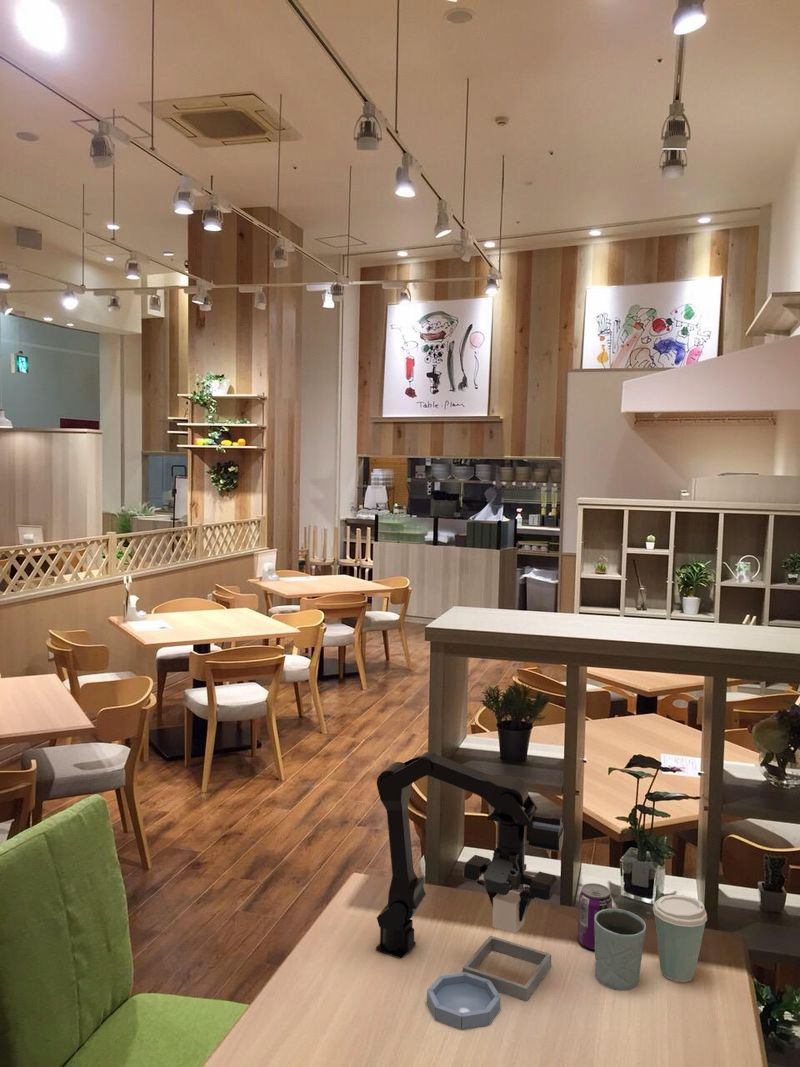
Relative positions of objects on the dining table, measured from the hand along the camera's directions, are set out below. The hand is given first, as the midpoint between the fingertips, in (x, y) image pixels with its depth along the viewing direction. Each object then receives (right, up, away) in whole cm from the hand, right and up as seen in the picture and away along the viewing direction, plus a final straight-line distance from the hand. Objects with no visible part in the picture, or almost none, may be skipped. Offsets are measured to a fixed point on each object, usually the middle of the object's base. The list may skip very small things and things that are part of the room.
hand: (508, 917), depth 171 cm
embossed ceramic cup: (+22, -12, 0) cm, 25 cm away
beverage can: (+20, -12, +12) cm, 26 cm away
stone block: (0, -2, 0) cm, 2 cm away
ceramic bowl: (-10, -12, -10) cm, 19 cm away
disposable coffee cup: (+35, -12, +2) cm, 37 cm away
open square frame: (0, -12, +1) cm, 12 cm away
